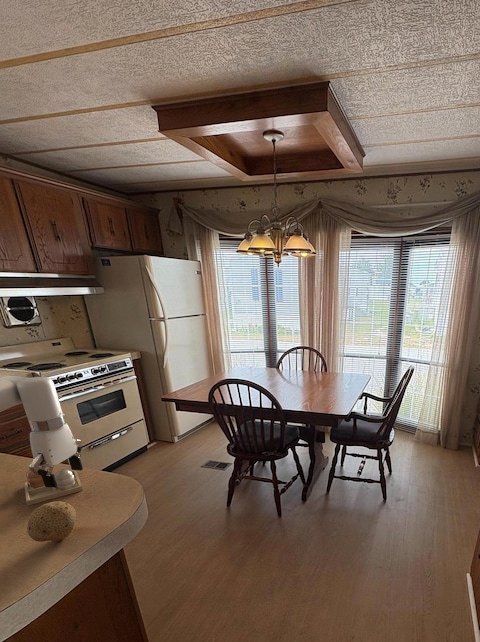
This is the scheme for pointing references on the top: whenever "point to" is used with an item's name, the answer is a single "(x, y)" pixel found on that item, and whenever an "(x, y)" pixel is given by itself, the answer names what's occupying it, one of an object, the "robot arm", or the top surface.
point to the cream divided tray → (49, 491)
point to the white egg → (64, 479)
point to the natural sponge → (51, 522)
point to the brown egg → (34, 479)
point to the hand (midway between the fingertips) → (65, 477)
